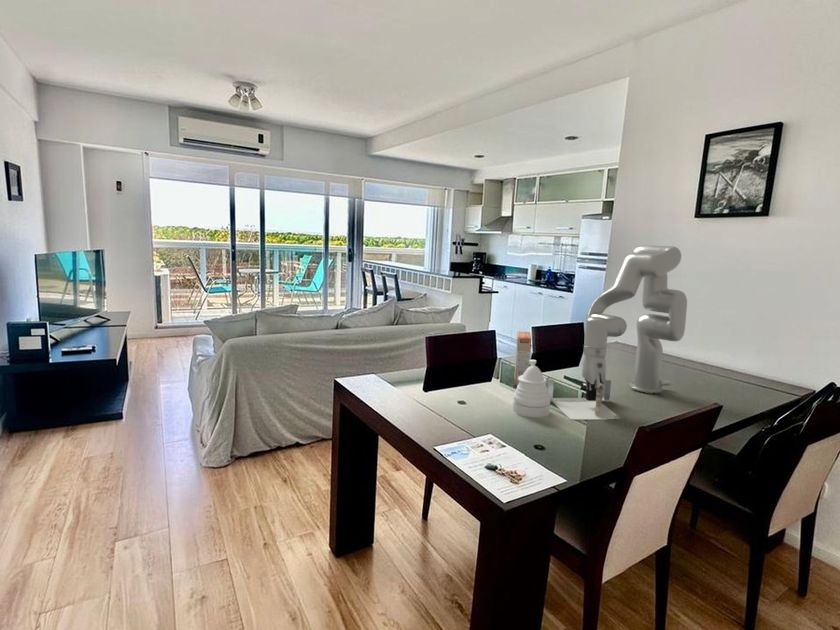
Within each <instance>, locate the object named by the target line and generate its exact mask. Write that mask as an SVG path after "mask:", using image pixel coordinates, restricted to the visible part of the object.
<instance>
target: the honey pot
mask: <svg viewBox="0 0 840 630" xmlns="http://www.w3.org/2000/svg"><path fill="white" fill-rule="evenodd" d="M529 363H530V364H529V368H528V369H527V370H526V371H525V372H524V374H523V375H521V376H519V377H518V380H519V381H520V382H519V384H518V385H516V388H515V392H514V393H513V398H512V399H513V400H512V401H513V402H512V411H513V412H514V413H516V414H518V415H520V416H523V417H529V418H543V417H547V416H549V415H550V408H551V402H550V396H549V393H548V388H547V387H546V385H547V378H545V376H544V375H543V373H542V371H541V369H540V368H539V367H538V366H536V364H537V360H536V359H530V360H529Z"/></svg>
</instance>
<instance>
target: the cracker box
mask: <svg viewBox="0 0 840 630" xmlns="http://www.w3.org/2000/svg"><path fill="white" fill-rule="evenodd" d="M515 346H516V348H515V361H514V362H515V363H514V386H518V384H519V382H520V381H519V380H518V377H519V376H521V375H523V374H524V372H525V371H526V370H527V369H528V368H529V367H530V363H529V360H531V352H532V351H531V348H532V335H531V331H530V332H529V331H517V333H516V345H515Z"/></svg>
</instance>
